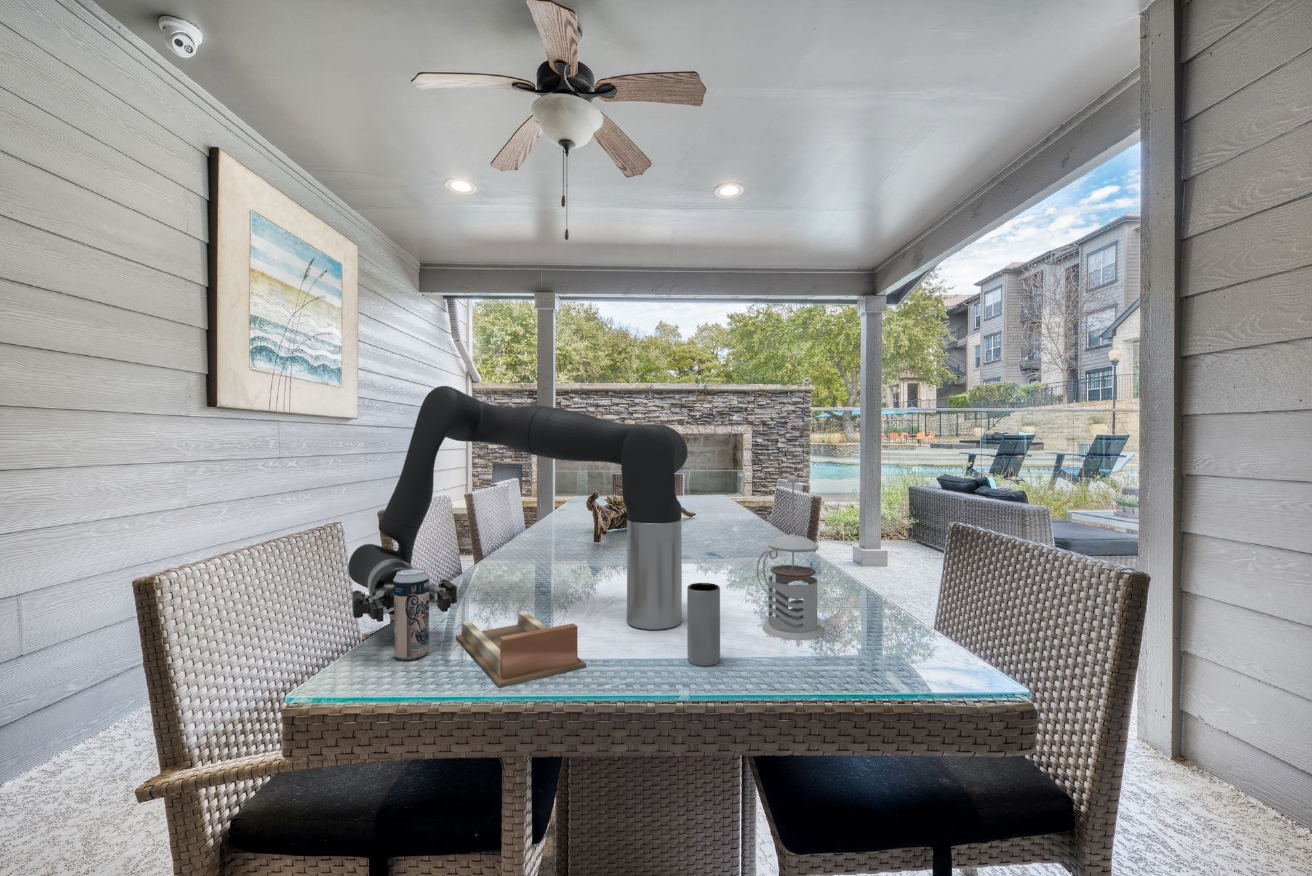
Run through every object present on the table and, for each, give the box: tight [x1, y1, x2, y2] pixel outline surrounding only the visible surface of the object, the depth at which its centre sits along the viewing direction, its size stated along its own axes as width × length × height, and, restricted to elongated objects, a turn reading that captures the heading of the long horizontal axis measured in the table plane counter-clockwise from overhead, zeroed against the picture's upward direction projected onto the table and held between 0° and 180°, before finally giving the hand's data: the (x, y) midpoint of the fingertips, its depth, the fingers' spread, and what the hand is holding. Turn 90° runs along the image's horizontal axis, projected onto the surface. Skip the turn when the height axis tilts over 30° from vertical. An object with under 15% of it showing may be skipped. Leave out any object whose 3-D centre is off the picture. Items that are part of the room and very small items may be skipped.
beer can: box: [393, 568, 430, 661], centre depth 84 cm, size 5×5×12 cm
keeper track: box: [455, 610, 587, 688], centre depth 85 cm, size 21×12×6 cm, turn 33°
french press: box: [756, 474, 825, 641], centre depth 96 cm, size 10×12×25 cm
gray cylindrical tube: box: [686, 582, 721, 667], centre depth 82 cm, size 4×4×10 cm
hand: (414, 609), depth 82 cm, fingers open, 8 cm apart
